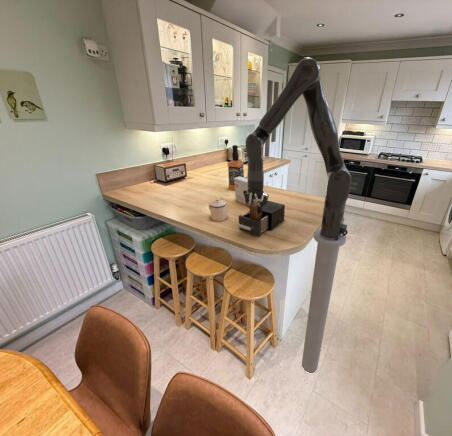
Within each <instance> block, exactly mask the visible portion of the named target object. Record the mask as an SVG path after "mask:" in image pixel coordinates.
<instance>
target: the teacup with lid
mask: <svg viewBox="0 0 452 436" xmlns="http://www.w3.org/2000/svg"><path fill="white" fill-rule="evenodd" d="M208 209H209V211H210V217H211V220H213V221H214V222H221V221H224V220H226V219H227V217H228V216H227V215H228V214H227V202H226V201H225V200H224V199H223V200H221V199H220V198H219V197H218V198H215V200H212V201H211V202H210V203H209V204H208Z"/></svg>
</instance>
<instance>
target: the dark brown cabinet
mask: <svg viewBox="0 0 452 436" xmlns="http://www.w3.org/2000/svg"><path fill="white" fill-rule="evenodd" d="M262 201H263V199H262ZM285 210H286V204H283V203H279V202H275V201H272V200H269V199H268V200H267V203H266V205H264V206H263V207H262V212H263V213H267V214H270V215H271V216H270V228H268V229H267V230H269V231H273V230H274V229H275V228H276V227H278V226H279V225H280V224H282V223H283V222H284V221H285V213H286V211H285Z"/></svg>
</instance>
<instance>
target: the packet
mask: <svg viewBox="0 0 452 436" xmlns="http://www.w3.org/2000/svg"><path fill="white" fill-rule="evenodd" d="M249 206H250V209H249V211H250V219H254V220H257V221H260V220H261V219H262V212H261V213H260V214H259V213H258V203H257V202H256V201H254V202H252V203H250V204H249ZM249 206H248V207H249Z"/></svg>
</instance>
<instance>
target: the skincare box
mask: <svg viewBox="0 0 452 436" xmlns="http://www.w3.org/2000/svg"><path fill="white" fill-rule="evenodd" d="M234 182H235V190H234V194H235V195H234V196H235V201H236V202H239V203H241V204H244V205H246V206H248V207H249V203H248V202H246V200H245V197H244V193H243V191H244V190H248V178H246V177H244V178H243V177H240V176H239V177H236V178H234ZM249 196H250V195H249ZM262 200H263V196H262ZM254 201H256V199H254Z"/></svg>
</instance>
